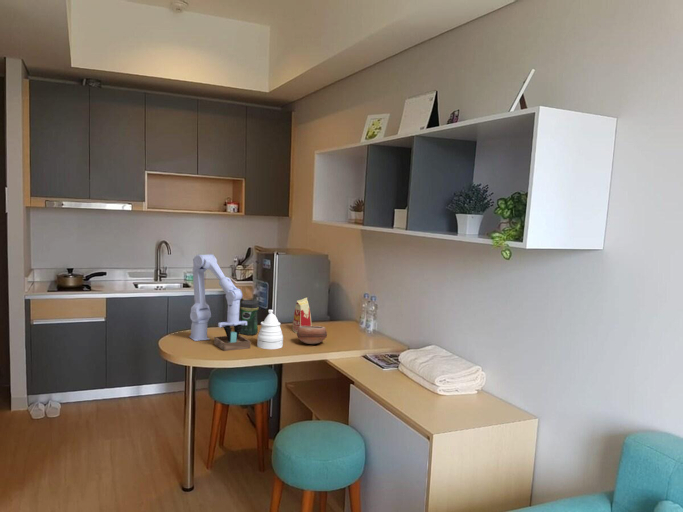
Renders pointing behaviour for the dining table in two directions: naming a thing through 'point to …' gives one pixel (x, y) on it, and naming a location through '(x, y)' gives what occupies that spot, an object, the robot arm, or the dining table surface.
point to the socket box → (239, 344)
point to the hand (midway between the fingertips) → (232, 340)
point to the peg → (233, 337)
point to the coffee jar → (249, 317)
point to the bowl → (311, 334)
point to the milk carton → (301, 314)
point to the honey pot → (270, 333)
